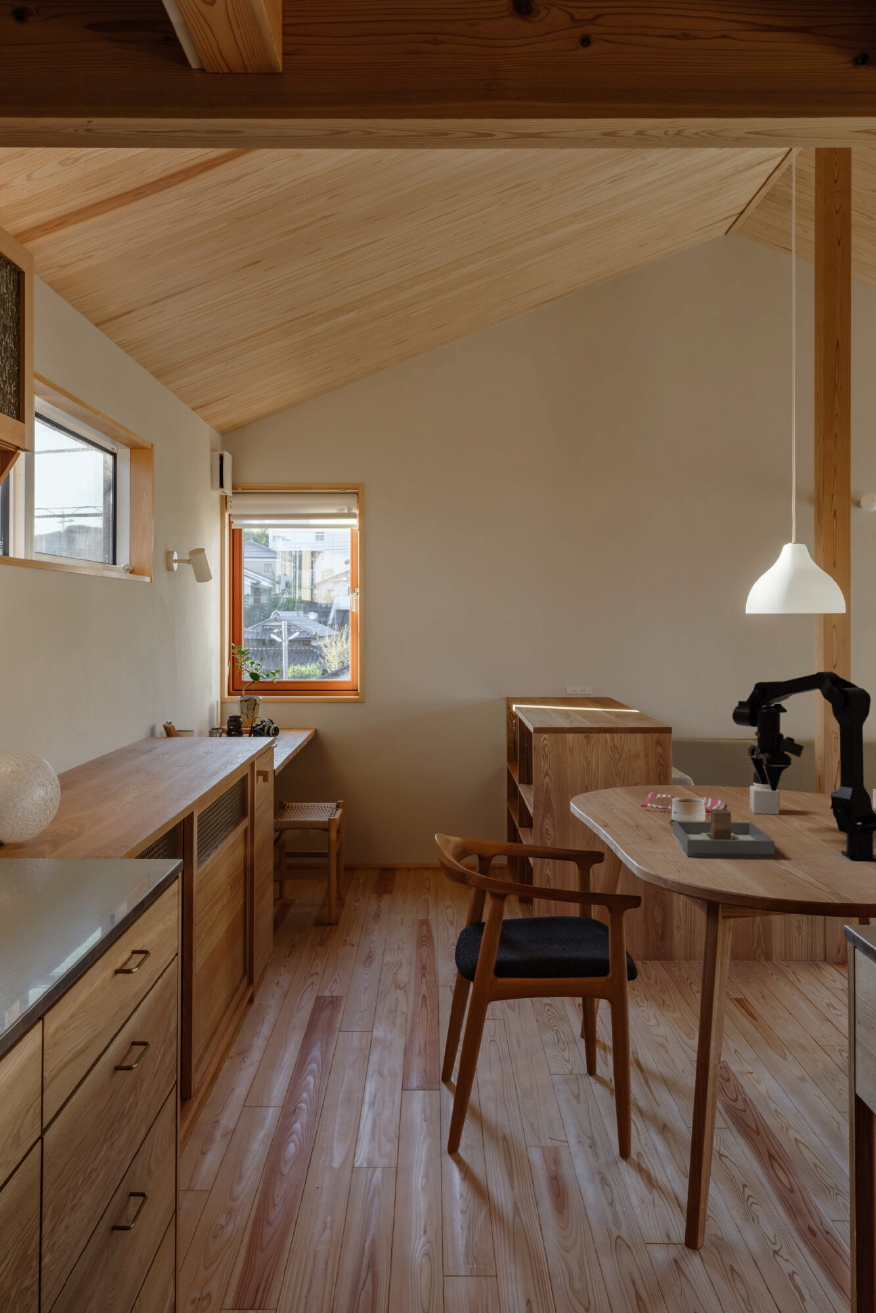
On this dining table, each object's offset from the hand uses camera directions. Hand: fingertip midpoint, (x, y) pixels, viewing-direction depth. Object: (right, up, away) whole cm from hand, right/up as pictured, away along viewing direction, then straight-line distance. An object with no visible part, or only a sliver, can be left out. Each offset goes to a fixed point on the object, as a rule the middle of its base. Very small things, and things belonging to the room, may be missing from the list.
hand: (768, 787), depth 222 cm
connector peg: (-17, -12, -14) cm, 25 cm away
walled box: (-17, -13, -14) cm, 26 cm away
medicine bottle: (+9, -11, +26) cm, 29 cm away
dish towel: (-13, -12, +33) cm, 37 cm away
